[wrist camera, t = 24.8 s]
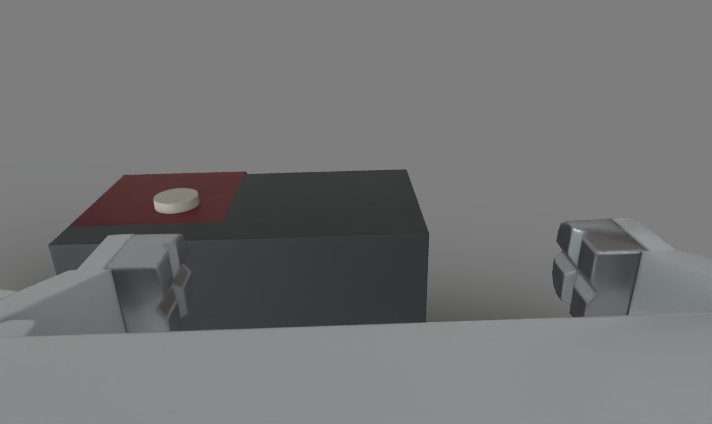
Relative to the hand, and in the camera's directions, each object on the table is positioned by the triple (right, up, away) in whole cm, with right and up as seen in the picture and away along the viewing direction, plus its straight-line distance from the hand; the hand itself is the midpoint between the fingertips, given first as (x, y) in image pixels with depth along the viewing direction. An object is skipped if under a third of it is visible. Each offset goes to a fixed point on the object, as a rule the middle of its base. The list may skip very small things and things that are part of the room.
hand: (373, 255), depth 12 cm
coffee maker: (-6, -18, +29) cm, 35 cm away
